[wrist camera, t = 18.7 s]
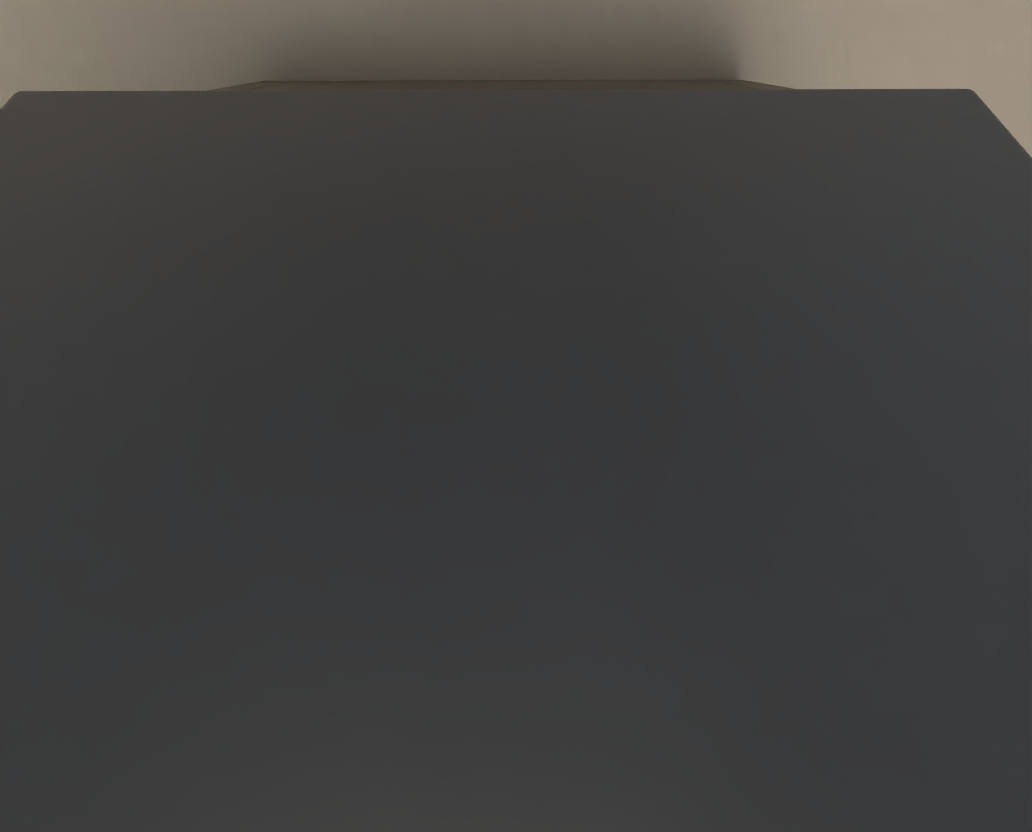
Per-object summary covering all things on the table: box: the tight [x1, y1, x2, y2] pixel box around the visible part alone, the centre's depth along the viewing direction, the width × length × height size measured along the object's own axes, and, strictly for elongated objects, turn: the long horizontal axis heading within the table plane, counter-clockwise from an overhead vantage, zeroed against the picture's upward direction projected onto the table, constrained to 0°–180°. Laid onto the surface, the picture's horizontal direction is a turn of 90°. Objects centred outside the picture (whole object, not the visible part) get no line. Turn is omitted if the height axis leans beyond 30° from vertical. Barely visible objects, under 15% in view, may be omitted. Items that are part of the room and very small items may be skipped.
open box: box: [209, 80, 791, 91], centre depth 16 cm, size 14×12×9 cm
